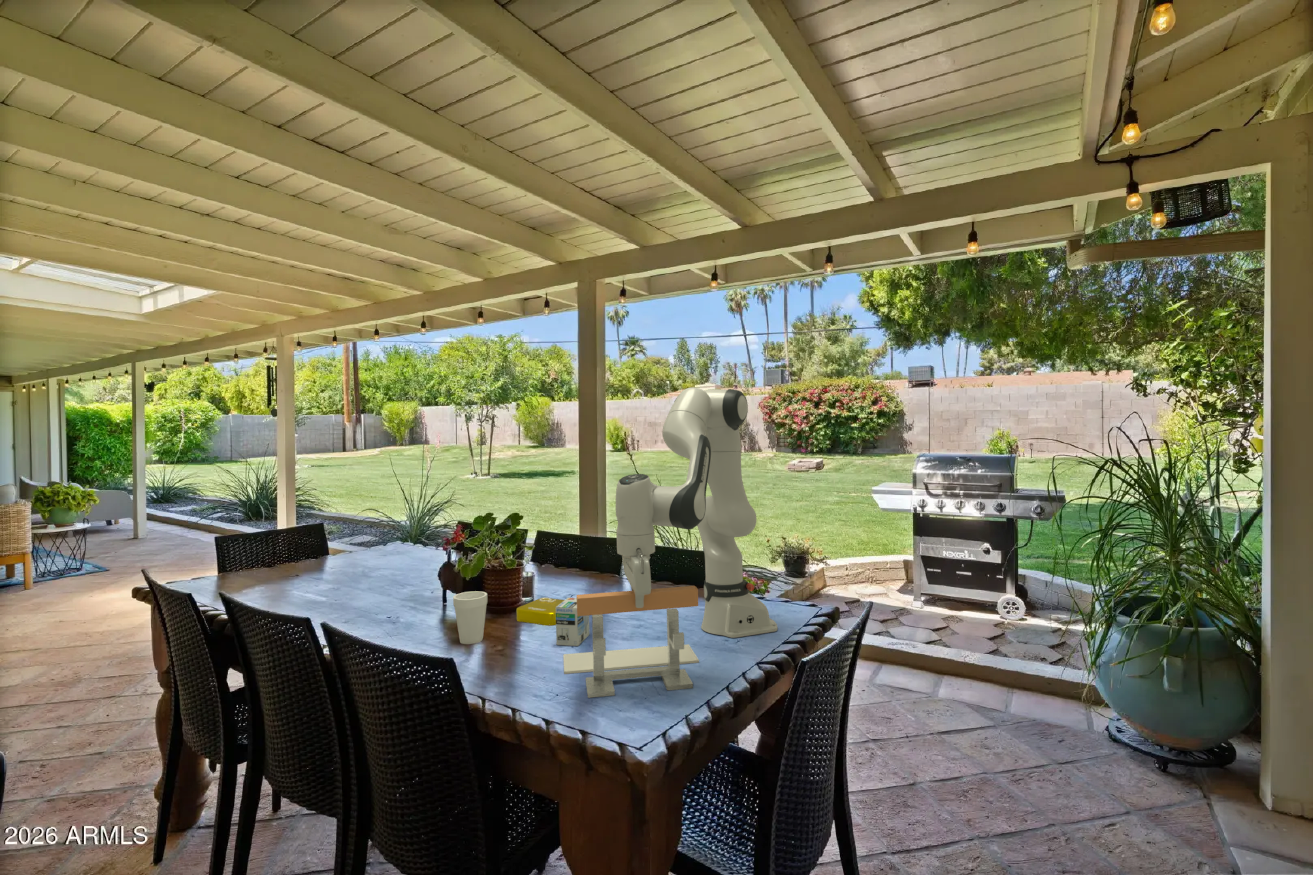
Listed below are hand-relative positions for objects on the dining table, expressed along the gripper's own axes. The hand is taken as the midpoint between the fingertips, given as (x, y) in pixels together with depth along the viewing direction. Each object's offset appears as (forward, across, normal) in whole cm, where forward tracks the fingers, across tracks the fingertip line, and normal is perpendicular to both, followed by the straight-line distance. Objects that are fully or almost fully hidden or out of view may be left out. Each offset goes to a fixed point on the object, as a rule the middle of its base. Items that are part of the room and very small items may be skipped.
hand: (638, 604), depth 142 cm
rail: (+1, 0, 0) cm, 1 cm away
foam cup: (+19, +42, +43) cm, 63 cm away
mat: (+19, +17, 0) cm, 25 cm away
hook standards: (+19, 0, 0) cm, 19 cm away
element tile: (+20, +60, +22) cm, 67 cm away
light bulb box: (+19, +36, +14) cm, 43 cm away
